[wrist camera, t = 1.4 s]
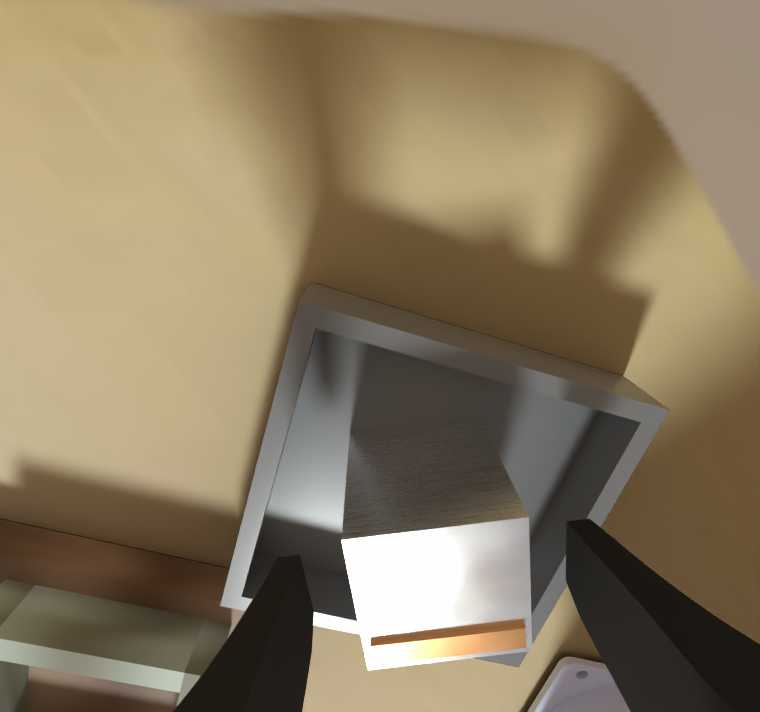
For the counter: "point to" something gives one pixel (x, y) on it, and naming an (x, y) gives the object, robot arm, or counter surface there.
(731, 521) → the counter surface
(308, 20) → the counter surface
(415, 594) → the block
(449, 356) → the gray square tray
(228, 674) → the robot arm
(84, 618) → the double pocket tray
